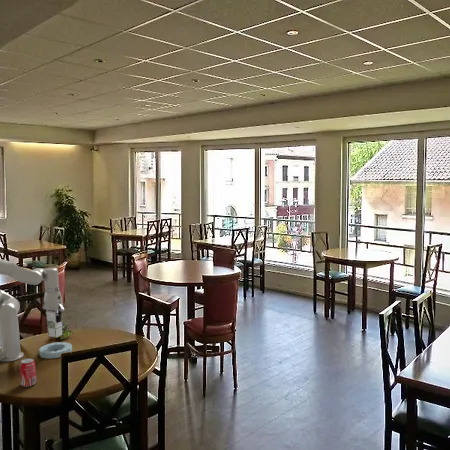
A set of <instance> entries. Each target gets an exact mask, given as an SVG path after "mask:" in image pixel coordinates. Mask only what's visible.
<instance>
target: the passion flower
mask: <svg viewBox="0 0 450 450" xmlns="http://www.w3.org/2000/svg"><path fill="white" fill-rule="evenodd" d="M68 327H69V323H68V322H67V321H65V322H62V335H61V336H60V340H61V341H63V340H66V339H67V338H69V337H71V334H72V335H73V334H74V332H73V329H71V330H69V328H68ZM56 338H58V337H56Z"/></svg>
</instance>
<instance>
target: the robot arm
mask: <svg viewBox="0 0 450 450" xmlns="http://www.w3.org/2000/svg"><path fill="white" fill-rule="evenodd" d="M0 276H2V277H6V278H9V279H11V280H14V281H17V282H20V283H24V284H27V285H33V286H37V285H40V283H42V281H44V295H43V297H44V298H43V306H42V309H43V311H44V312H45V314H46V313H47V312H48V311H50V310H52V311H55V312H56V314H57V316H56V322H57V323H58V322H61V321H62V314H63V313H64V311H65V309H66V308H64V303H63V297H62V293H61V288H60V280H59V279H60V277H59V270H58V268H57V267H48V268H40V267H36V268H33V269H31V270H30V269H27V268H23V267H21V266H19V265H17V263H15V262H14V261H10V260H6V259H2V258H0ZM20 306H21V304H20V302H19V300H18V299H17V298H15V297H14V296H12V295H11V294H9V293H7V292H5V291H4V290H2V289H0V349H1V351H0V362H4V363H5V362H7V363H8V362H15V361H17V360H20V359H22V358H23V357H24V354H25V353H24V352H23V351H21V341H20V340H21V339H20V327H19V318H18V317H19V316H18V313H19V310H20ZM58 311H59V313H58Z"/></svg>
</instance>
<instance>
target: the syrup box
mask: <svg viewBox="0 0 450 450" xmlns="http://www.w3.org/2000/svg"><path fill="white" fill-rule="evenodd" d="M58 313H59V311H58ZM45 315H46V325H47V326H46V327H47V336H48V337H49V338H56V337H57V338H59V337H61V335H62V332H63V331H62V324H63V322H62V320H61V322H58V323H57V322H56V316H57V314H56V312H55V311H52V310H50V311H48V312H47V313H46V312H45Z"/></svg>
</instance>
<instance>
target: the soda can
mask: <svg viewBox="0 0 450 450" xmlns="http://www.w3.org/2000/svg"><path fill="white" fill-rule="evenodd" d="M36 367H37V366H36V362H35V360H34V358H31V357H30V358H23V359H22V360H20V363H19V379H20V385H21V386H22V387H24V388H29V386H30V387H33V386H34V385H35V384H36V383H37V368H36ZM32 385H33V386H32Z"/></svg>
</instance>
